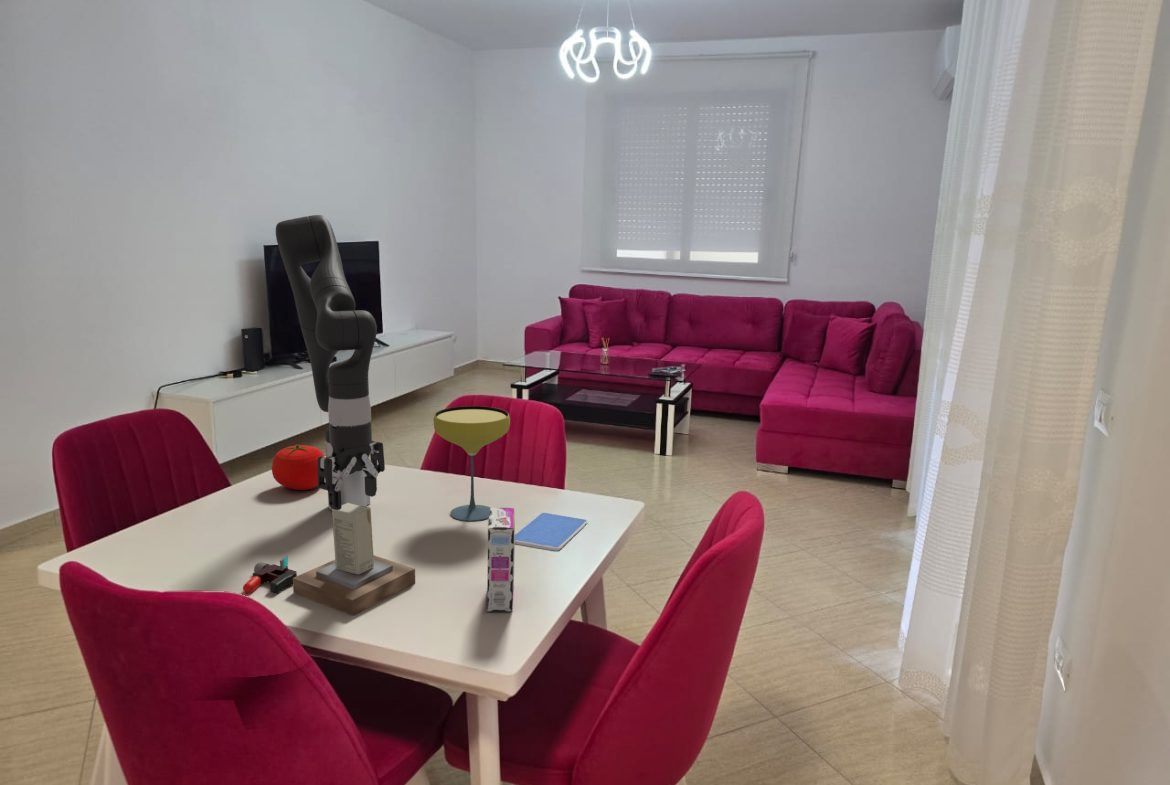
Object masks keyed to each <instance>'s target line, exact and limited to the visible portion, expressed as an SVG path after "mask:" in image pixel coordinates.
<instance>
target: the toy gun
mask: <svg viewBox="0 0 1170 785" xmlns="http://www.w3.org/2000/svg"><path fill="white" fill-rule="evenodd" d="M297 573H298V572H297V571H296V570H293V569H290V568H289V562H288V554H285V555H283V557H282V558H281V559H280V560H279V565H277V564H274V563H273V564H269V563H267V562H263V561H259V562H257V563H255V565H254V568H253V572H252V577H251V578H249V580H246V582H245V583H244V584H243V585H242V591H243V592H244V593H245V594H252V593H253V592H254V591H255V590H256V589H257V588H258V587H259V586H260V585H264V584H266V583H268V584H269V592H270V593H273V594H275V595H278V594H279V593H281V592H282V591H283V590H285V589H287V588H288V587H291V586H293V578H294V577H296V576H298V574H297Z"/></svg>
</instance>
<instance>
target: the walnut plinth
mask: <svg viewBox="0 0 1170 785" xmlns="http://www.w3.org/2000/svg"><path fill="white" fill-rule="evenodd" d="M373 557H374V567H373V568H371V569H369V570H367V571H365V572H363V573H361V574H359V575H358V574H354V573H350V572H346V571H343V570H339V569H336V563H335V559H332V560H331V561H328V562H326V563H324V564H321V565H319V566H317V567H315V568H313V569H310V570H308V571H306V572H305V571H304V572H303V573H301V574H299V575H297V576H296V577H294V578H293V585H292V587H293V588H292V589H293V590H292V591H293V594H295V595H299V596H301V597H304V598H306V599H308V600H312V601H314V602H317V603H319V604H322V605H324V606H328V607H329V608H332V609H335V610H338V611H341V612H343V613H345V614H348V615H350V616H355V615H357V614H359V613H361V612H363V611H365V610H366V609H368V608H370V607H372V606H374V605H376V604H378V603H379V602H382V601H384V600H385V599H387V598H389V597H391V596H393V595H395V594H396V593H398V592H401V591H403V590H405V589H406V588H408V587H410V586H412V585H414V584H416V568H414V567H411V566H409V565H406V564H403V563H399V562H396V561H393V560H390V559H386V558H383V557H381V556H378V555H375V554H373Z"/></svg>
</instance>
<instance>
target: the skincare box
mask: <svg viewBox="0 0 1170 785" xmlns="http://www.w3.org/2000/svg"><path fill="white" fill-rule="evenodd" d="M331 515H332V516H331V518H332V530H333V546H334V560H335V563H336V569H339V570H343V571H346V572H350V573H354V574H358V575H359V574H361V573H363V572H365V571H367V570H369V569H371V568H373V567H374V557H373V555H374V544H373V542H374V541H373V526H372V524H373V522H372V507H369V506H367V507H365V506H361V505H356V504H351V503H346V504H344V505H342V508H341V509H340V510H334V509H332V511H331Z"/></svg>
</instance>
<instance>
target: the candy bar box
mask: <svg viewBox="0 0 1170 785" xmlns="http://www.w3.org/2000/svg"><path fill="white" fill-rule="evenodd" d="M515 520H516V519H515V507H490V513H489V518H488V522H487V583H486V584H487V585H486V586H487V588H486V590H487V593H486V594H487V596H486V597H487V598H486V599H487V600H486V603H487V604H486V606H487V607H486V612H487V613H512V612H513V609H514V608H513V606H514V591H515V590H514V589H515V588H514V587H515V551H516V550H515V549H516V548H515V547H516V546H515V545H516V544H515V534H516V533H515V531H516V530H515V529H516V528H515V527H516V525H515V524H516V523H515Z"/></svg>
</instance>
